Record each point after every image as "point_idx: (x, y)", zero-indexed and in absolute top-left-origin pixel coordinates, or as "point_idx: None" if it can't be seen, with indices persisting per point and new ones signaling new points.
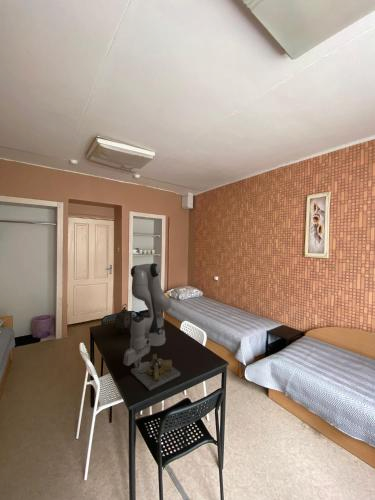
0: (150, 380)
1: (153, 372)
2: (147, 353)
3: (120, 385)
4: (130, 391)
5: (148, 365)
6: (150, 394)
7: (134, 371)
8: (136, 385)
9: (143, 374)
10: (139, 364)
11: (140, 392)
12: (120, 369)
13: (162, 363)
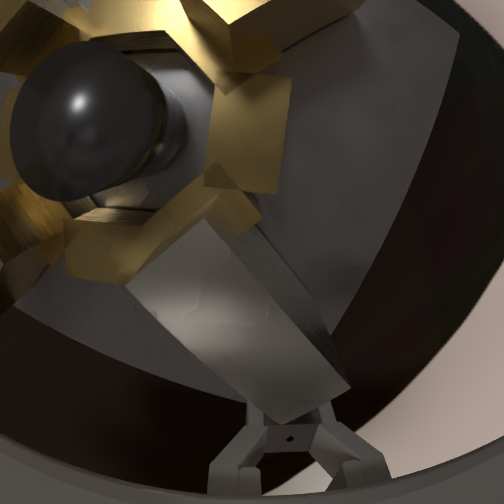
0: (376, 61)
1: (279, 50)
2: (25, 447)
3: (458, 327)
4: (500, 205)
5: (222, 223)
6: (461, 22)
7: None
8: (437, 205)
9: (308, 231)
10: (344, 388)
11: (486, 114)
12: (276, 453)
13: (37, 4)
